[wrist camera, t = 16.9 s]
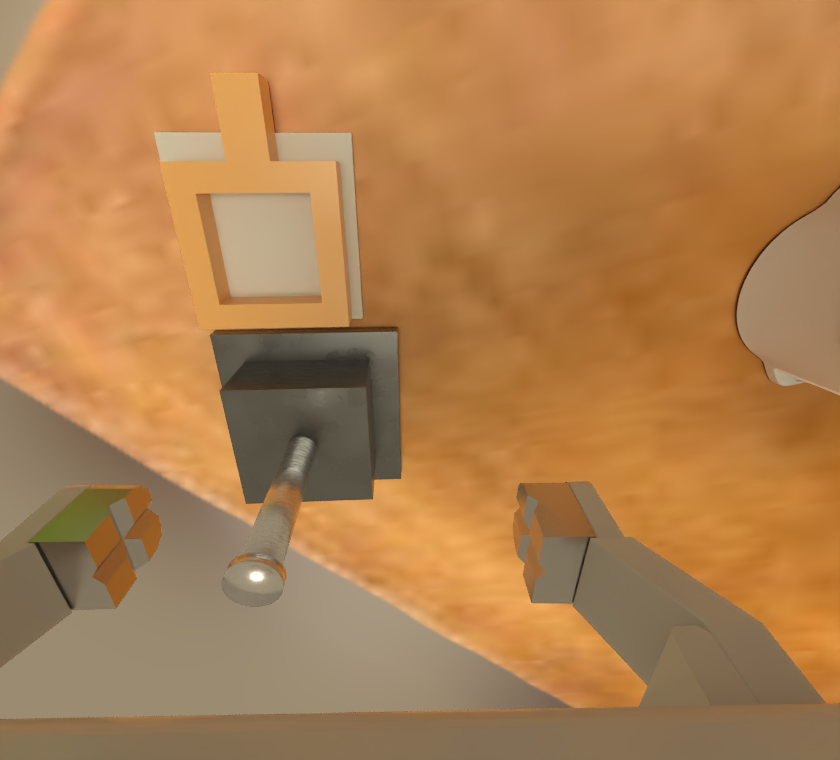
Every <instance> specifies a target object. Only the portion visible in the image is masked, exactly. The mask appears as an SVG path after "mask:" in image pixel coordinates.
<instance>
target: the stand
mask: <svg viewBox="0 0 840 760" xmlns="http://www.w3.org/2000/svg"><path fill="white" fill-rule="evenodd" d="M210 337H211V341H212V345H213V350H214V354H215V358H216V363H217V367H218V371H219V376H220V380H221V384H222V389H221V390H220V395H221V399H222V403H223V408H224V412H225V416H226V420H227V425H228V429H229V433H230V437H231V442H232V446H233V450H234V454H235V459H236V463H237V467H238V472H239V476H240V480H241V484H242V489H243V493H244V497H245V501H246V504H252V503H263V504H262V507H261V509H260V511H259V514H258V516H257V519H256V521H255V523H254V526H253V528H252V530H251V533H250V535H249V537H248V540H247V542H246V545H245V547H244V549H243V552H242V554H241V556H238V557H236V558H235V559H233V560H232V561H231V562H230V564H229V566H228V568H227V570H226V572H225V574H224V577H223V579H222V589H223V591H224V593H225V594H226V596H227V597H229V598H230V599H231V600H233V601H234V602H236V603H239V604H241V605H245V606H251V607H259V606H265V605H269V604H271V603H273V602H275V601H276V600H278V599H279V597H280V596H281V594H282V592H283V588H284V585H285V581H286V576H287V575H286V570H285V568H284V567H283V563H284V559H285V556H286V552H287V549H288V546H289V543H290V539H291V536H292V533H293V529H294V526H295V523H296V519H297V516H298V513H299V509H300V506H301V503H302V502H307V501H335V500H362V499H373V491H374V480H376V479H401V450H400V411H399V373H398V334H397V327H393V328H335V329H276V330H217V331H214V332H213V333H212V334H211V335H210Z"/></svg>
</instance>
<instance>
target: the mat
mask: <svg viewBox="0 0 840 760" xmlns="http://www.w3.org/2000/svg"><path fill="white" fill-rule="evenodd" d="M154 135H155V140H156V144H157V148H158V152H159V156H160V161H161V162H175V161H226V160H225V155H224V149H223V144H222V138H221V133H220V132H154ZM275 137H276V144H277V152H278V159H279V161H337V162H339V163H340V170H341V183H342V195H343V208H344V221H345V234H346V247H347V259H348V272H349V285H350V298H351V311H352V319H363V307H362V291H361V275H360V258H359V242H358V226H357V210H356V194H355V178H354V162H353V146H352V134H351V133H275ZM210 198H211V203H212V208H213V213H214V218H215V223H216V228H217V232H218V237H219V242H220V247H221V252H222V257H223V262H224V267H225V272H226V277H227V281H228V286H229V291H230V296H231V298H233V297H291V296H321V289H320V280H319V271H318V262H317V253H316V243H315V234H314V225H313V216H312V207H311V197H310V193H210Z"/></svg>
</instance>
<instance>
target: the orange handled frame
mask: <svg viewBox="0 0 840 760" xmlns="http://www.w3.org/2000/svg"><path fill="white" fill-rule="evenodd" d="M209 73H210V78H211V84H212V89H213V95H214V100H215V106H216V111H217V117H218V122H219V128H220V133H221V138H222V144H223V149H224V155H225V160H226V161H175V162H159V166H160V170H161V174H162V178H163V182H164V186H165V190H166V194H167V198H168V202H169V207H170V211H171V215H172V219H173V223H174V227H175V231H176V235H177V239H178V243H179V247H180V252H181V256H182V260H183V264H184V268H185V272H186V276H187V280H188V284H189V288H190V292H191V296H192V301H193V305H194V309H195V313H196V317H197V321H198V325H199V329H200V330H212V329H260V328H309V327H349V326H350V323H351V320H352V311H351V298H350V285H349V272H348V259H347V247H346V234H345V221H344V208H343V195H342V183H341V170H340V163H339V162H337V161H279V159H278V152H277V144H276V137H275V130H274V122H273V115H272V107H271V100H270V92H269V85H268V81H267V80H266V79H265V78H263V77H262V76H261V75H260V74H258V73H240V72H209ZM210 193H310V197H311V207H312V216H313V225H314V234H315V243H316V253H317V262H318V271H319V280H320V289H321V296H291V297H233V298H231V296H230V291H229V286H228V281H227V277H226V272H225V267H224V262H223V257H222V252H221V247H220V242H219V237H218V232H217V228H216V223H215V218H214V213H213V208H212V203H211V198H210Z"/></svg>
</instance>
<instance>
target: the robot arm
mask: <svg viewBox="0 0 840 760" xmlns="http://www.w3.org/2000/svg"><path fill="white" fill-rule="evenodd" d="M737 325H738V330H739V333H740V336H741V338H742V340H743V342H744V344H745V345H746V346H747V348H748V349H749V350H750V351H751V352H753V353H754V354H755V355H756V356H758V357H759V358H760V359H761V360H762V361H763V363H764V366H765V370H766V373H767V375H768V378H769V379H770V381H771V382H773V383H776V384H778V385H781V386H790V385H795V384H800V383H805V382H807V383H810V384H812V385H815V386H817V387H820V388H822V389H825V390H827V391H830V392H832V393H835V394H837V395H840V188H839V189H838V190H837V191H836V192H835V193H834V194H833V195H832V197H831V198H830V199H829V200H828V201H827V202H826V203H825V204H824V205H822V206H821V207H819V208H818V209H816V210H815V211H813V212H812V213H810V214H808V215H806V216H805V217H803V218H801V219H800V220H798V221H797V222H795V223H794V224H792V225H791V226H790V227H788V228H787V229H786V230H784V231H783V232H782V233H781V234H780V235H779V236H778V237H776V238H775V239H774V240H773V241H772V242H771V243H770V244H769V246H768V247H767V248H766V249H765V250H764V251H763V253H762V254H761V255H760V256H759V258H758V259H757V261H756V262H755V264H754V265H753V267H752V268H751V270H750V272H749V274H748V276H747V278H746V280H745V282H744V284H743V287H742V290H741V293H740V296H739V301H738V306H737ZM517 500H518V503H519V506H520V508H519V509H518V510H517V511H516V512H515V513H514V521H513V535H514V542H515V548H516V551H517V555H518V557H519V558H520V559H521V560H522V561H523V562H524V563H525V565H524V572H523V576H524V579H525V583H526V586H527V590H528V593H529V596H530V600H531V603H562V604H573V607H574V608H575V609H576V610H577V611H578V612H579V613H580V614H581V615H582V616H583V617H584V618H585V619H586V620H587V621H588V623H589V624H590V625H591V626H592V627H593V628H594V629H595V630H596V631H597V632H598V633H599V634H600V635H601V636H602V637H603V639H604V640H605V641H606V642H607V643H608V644H609V645H610V646H611V647H612V648H613V649H614V650H615V651H616V652H617V653H618V655H619V656H620V657H621V658H622V659H623V660H624V661H625V662H626V663H627V664H628V665H629V666H630V667H631V668H632V670H633V671H634V672H635V673H636V674H637V675H638V676H639V677H640V678H641V679H642V680H643V681H644V682H645V683H646V684H647V689H646V691H645V693H644V696H643V698H642V700H641V703H640V705H639V707H605V708H557V709H556V708H552V709H504V710H503V709H500V710H454V711H453V710H449V711H397V712H348V713H347V712H346V713H298V714H297V713H296V714H243V715H196V716H195V715H193V716H192V715H191V716H145V717H144V716H143V717H91V718H90V717H88V718H41V719H40V718H35V719H0V760H840V703H826V702H825V701H824V700H823V699H822V697H821V696H820V695H819V694H818V692H817V691H816V690H815V689H814V687H813V686H812V685H811V684H810V682H809V681H808V680H807V679H806V677H805V676H804V675H803V674H802V672H801V671H800V670H799V669H798V667H797V666H796V665H795V664H794V662H793V661H792V660H791V659H790V657H789V656H788V655H787V654H786V652H785V651H784V650H783V649H782V647H781V646H780V645H779V644H778V642H777V641H776V640H775V639H774V637H773V636H772V635H771V634H770V632H769V631H768V630H767V629H766V627H765V626H764V625H763V624H762V623H761V622H760V621H758V620H757V619H755V618H754V617H752V616H751V615H749V614H748V613H746V612H745V611H743V610H741V609H740V608H738V607H737V606H735V605H734V604H732V603H731V602H729V601H728V600H726V599H725V598H723V597H722V596H720V595H719V594H717V593H716V592H714V591H713V590H711V589H710V588H708V587H706V586H705V585H703V584H702V583H700V582H699V581H697V580H696V579H694V578H693V577H691V576H690V575H688V574H687V573H685V572H684V571H682V570H681V569H679V568H678V567H676V566H675V565H673V564H672V563H670V562H668V561H667V560H665V559H664V558H662V557H661V556H659V555H658V554H656V553H655V552H653V551H652V550H650V549H649V548H647V547H646V546H644V545H643V544H641V543H640V542H638V541H637V540H635V539H633V538H632V537H624V535H623V534H622V532H621V531H620V529H619V527H618V526H617V524H616V522H615V521H614V519H613V518H612V516H611V514H610V513H609V511H608V509H607V508H606V506H605V505H604V503H603V501H602V500H601V498H600V496H599V495H598V493H597V492H596V490H595V488H594V487H593V485H592V484H591V483H589V482H565V483H520V485H519V487H518V492H517ZM151 502H152V498H151V495H150V493H149V491H148V488H145V487H142V486H124V485H94V486H92V485H71V486H67V487H64V488H62V489H61V490H59V491H58V492H57V493H56V494H55V495H54V496H52V497H51V498H50V499H49V500H48V501H47V502H46V503H44V504H43V505H42V506H41V507H40V508H39V509H37V510H36V511H35V512H34V513H33V514H31V515H30V516H29V517H28V518H27V519H26V520H25V521H24V522H23V523H21V524H20V525H19V526H18V527H16V528H15V529H14V530H13V531H12V532H11V533H10V534H8V535H7V536H6V537H5V538H4V539H3V540H1V541H0V668H1V667H2V666H3V665H4V664H6V663H7V662H8V661H10V660H11V659H12V658H13V657H15V656H16V655H18V654H19V653H20V652H21V651H23V650H24V649H25V648H27V647H28V646H29V645H30V644H32V643H33V642H34V641H36V640H37V639H38V638H40V637H41V636H42V635H44V634H45V633H46V632H47V631H49V630H50V629H51V628H53V627H54V626H55V625H56V624H58V623H59V622H60V621H61V620H63V619H64V618H66V617H67V616H68V615H70V614H71V613H72V611H71V610H92V609H116V608H117V607H118V605H119V604H120V602H121V601H122V599H123V598H124V597H125V595H126V594H127V592H128V591H129V589H130V588H131V587H132V585H133V584H134V582H135V581H136V579H137V577H136V569H138V568H139V567H141V566H142V565H144V564H145V563H147V562H148V561H150V559H151V557H152V556H153V555H154V553H155V552H156V550H157V548H158V545H159V541H160V538H161V523H160V520H159V517H158V516H157V515H156V514H155V513H154V512H152V511H151V510H150V509H149V508H148V507H149V505H150V504H151Z"/></svg>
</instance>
